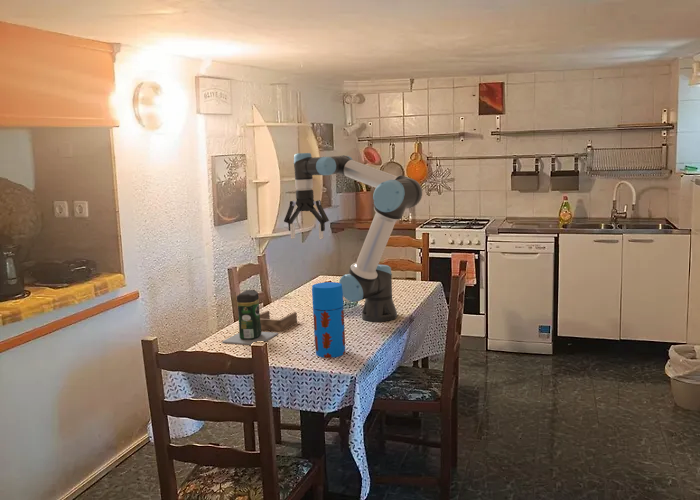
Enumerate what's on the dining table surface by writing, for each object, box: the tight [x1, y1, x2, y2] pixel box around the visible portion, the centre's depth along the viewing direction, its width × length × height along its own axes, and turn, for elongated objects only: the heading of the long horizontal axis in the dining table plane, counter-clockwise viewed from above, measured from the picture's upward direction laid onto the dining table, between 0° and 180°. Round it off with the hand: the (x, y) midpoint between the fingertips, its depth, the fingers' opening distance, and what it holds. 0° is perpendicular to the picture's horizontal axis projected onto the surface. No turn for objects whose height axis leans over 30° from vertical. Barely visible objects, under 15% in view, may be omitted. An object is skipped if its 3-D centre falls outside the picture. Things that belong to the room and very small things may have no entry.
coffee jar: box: [236, 289, 263, 340], centre depth 264 cm, size 10×8×19 cm
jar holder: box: [260, 310, 298, 332], centre depth 283 cm, size 14×14×4 cm
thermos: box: [311, 281, 346, 359], centre depth 240 cm, size 11×11×25 cm
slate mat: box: [221, 331, 279, 346], centre depth 265 cm, size 16×16×1 cm
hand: (307, 238), depth 291 cm, fingers open, 13 cm apart
